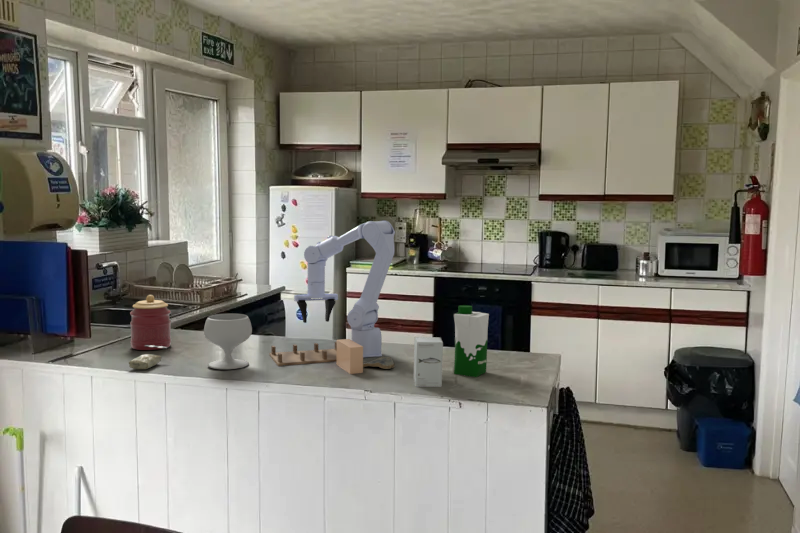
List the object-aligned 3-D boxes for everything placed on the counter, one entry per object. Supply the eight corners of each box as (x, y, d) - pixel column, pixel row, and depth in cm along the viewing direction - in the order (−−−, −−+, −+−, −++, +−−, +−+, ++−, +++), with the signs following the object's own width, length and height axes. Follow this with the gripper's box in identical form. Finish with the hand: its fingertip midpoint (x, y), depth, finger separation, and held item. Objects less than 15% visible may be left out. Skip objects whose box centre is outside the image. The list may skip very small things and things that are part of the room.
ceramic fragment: (388, 366, 202) (360, 357, 207) (387, 376, 203) (358, 367, 208) (406, 360, 212) (378, 351, 216) (404, 369, 212) (377, 361, 217)
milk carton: (463, 369, 208) (464, 303, 206) (490, 373, 204) (492, 306, 202) (449, 375, 201) (451, 307, 199) (477, 379, 196) (479, 310, 194)
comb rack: (338, 350, 231) (338, 341, 231) (350, 360, 217) (351, 350, 217) (269, 355, 223) (269, 345, 223) (277, 366, 209) (277, 355, 209)
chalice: (213, 359, 216) (212, 312, 214) (257, 361, 215) (257, 313, 214) (197, 370, 202) (196, 319, 200) (244, 372, 201) (244, 321, 200)
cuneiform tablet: (168, 347, 213) (149, 356, 201) (167, 361, 213) (148, 371, 201) (146, 344, 214) (126, 354, 202) (146, 359, 214) (126, 368, 202)
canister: (179, 345, 235) (178, 294, 234) (147, 352, 224) (146, 298, 223) (154, 341, 242) (153, 291, 241) (122, 347, 231) (121, 295, 230)
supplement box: (415, 387, 187) (416, 341, 186) (413, 380, 195) (414, 336, 193) (442, 387, 188) (443, 341, 186) (439, 380, 195) (440, 336, 194)
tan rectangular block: (348, 364, 213) (349, 338, 212) (362, 373, 202) (363, 346, 201) (336, 365, 211) (336, 339, 210) (349, 374, 200) (350, 347, 199)
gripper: (334, 279, 237) (333, 318, 238) (292, 280, 232) (292, 320, 233) (339, 282, 230) (339, 322, 232) (296, 283, 225) (296, 324, 227)
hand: (316, 321), depth 232 cm, fingers open, 7 cm apart
